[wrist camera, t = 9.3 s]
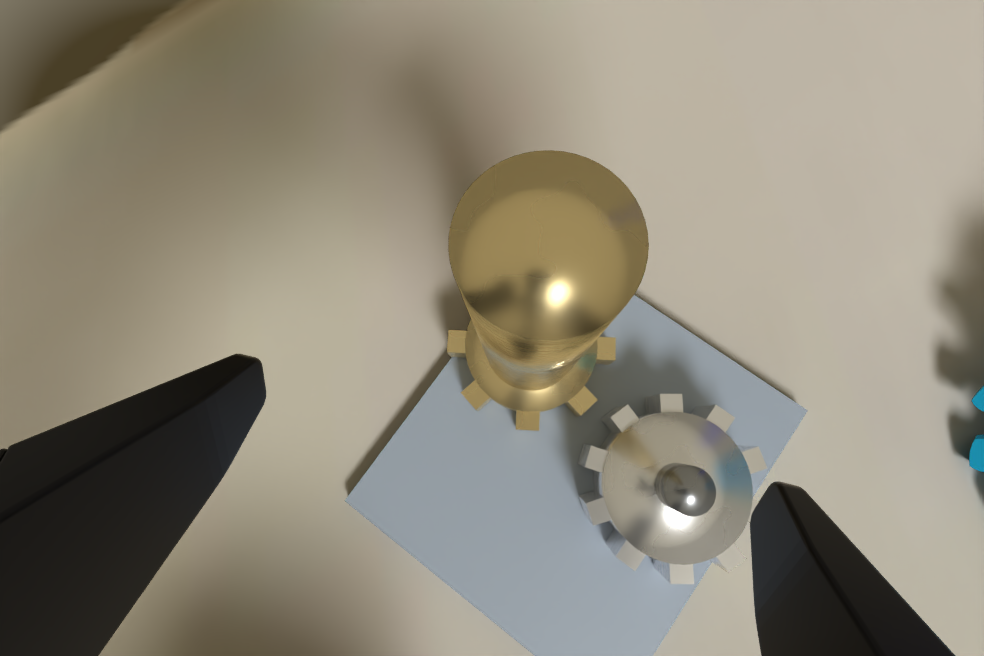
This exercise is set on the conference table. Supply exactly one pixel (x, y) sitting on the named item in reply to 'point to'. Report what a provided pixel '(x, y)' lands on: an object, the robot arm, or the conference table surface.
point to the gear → (978, 437)
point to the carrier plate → (555, 492)
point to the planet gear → (543, 279)
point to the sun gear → (672, 486)
